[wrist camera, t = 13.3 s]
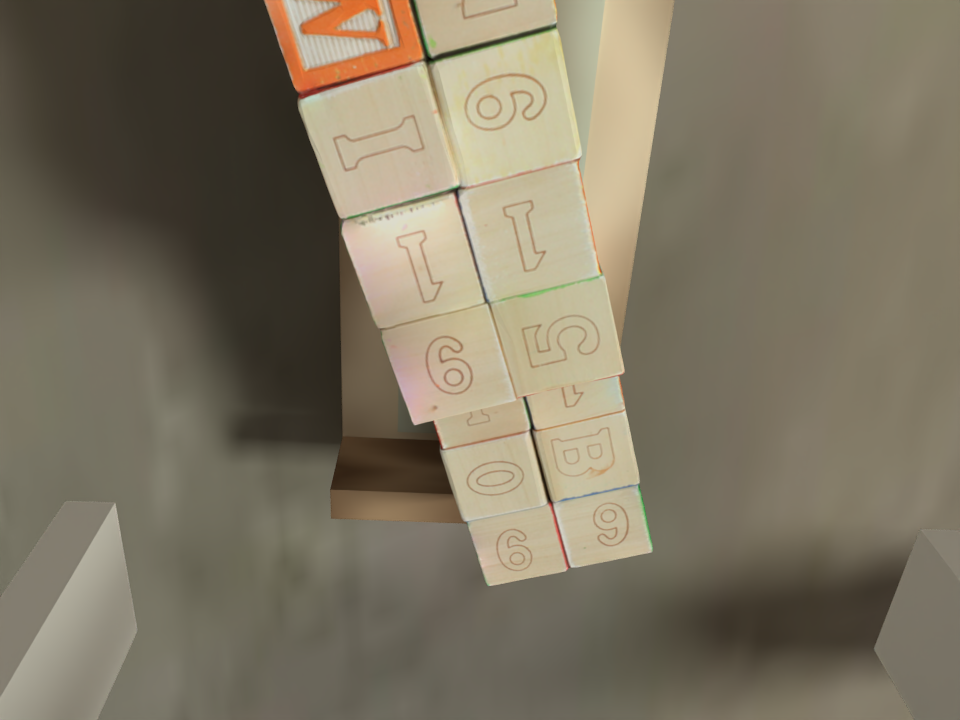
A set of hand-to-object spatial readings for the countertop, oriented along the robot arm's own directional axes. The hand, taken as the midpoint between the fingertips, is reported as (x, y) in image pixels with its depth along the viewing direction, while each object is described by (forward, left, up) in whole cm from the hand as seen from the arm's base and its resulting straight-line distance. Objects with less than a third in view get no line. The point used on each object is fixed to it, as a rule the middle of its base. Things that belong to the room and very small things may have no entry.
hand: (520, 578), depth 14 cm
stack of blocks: (0, 0, -21) cm, 21 cm away
